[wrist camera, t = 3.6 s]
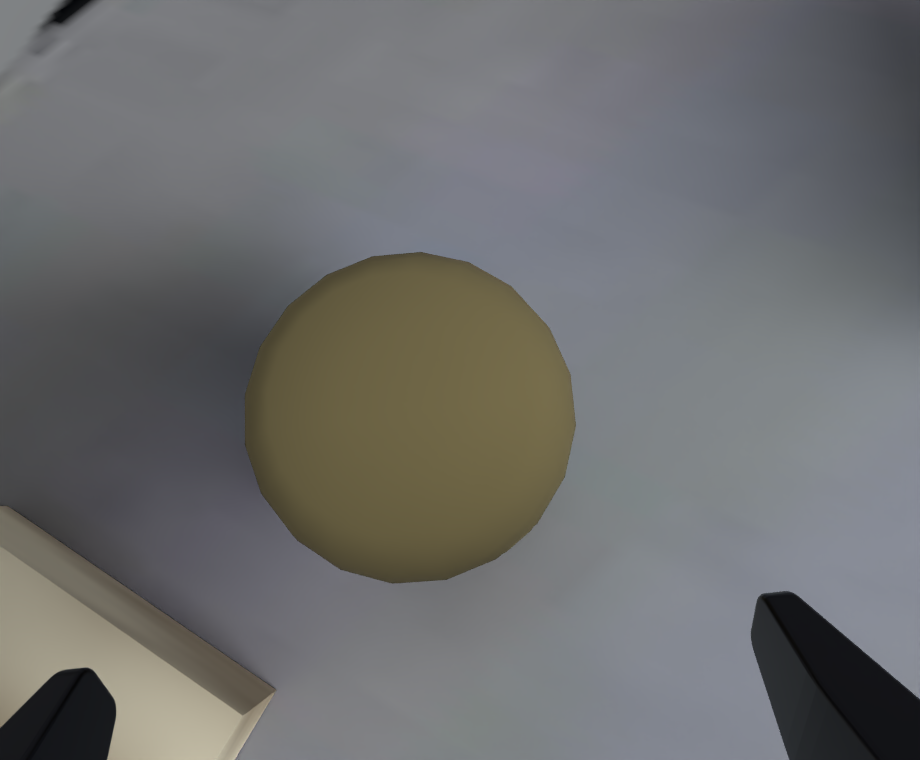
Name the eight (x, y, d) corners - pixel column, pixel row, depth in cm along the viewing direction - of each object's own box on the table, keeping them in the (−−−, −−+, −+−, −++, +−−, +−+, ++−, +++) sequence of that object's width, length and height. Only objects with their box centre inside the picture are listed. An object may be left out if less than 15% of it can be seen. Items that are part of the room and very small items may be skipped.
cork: (315, 428, 20) (108, 328, 10) (485, 326, 21) (470, 118, 10) (415, 608, 19) (306, 724, 8) (594, 497, 19) (711, 470, 9)
